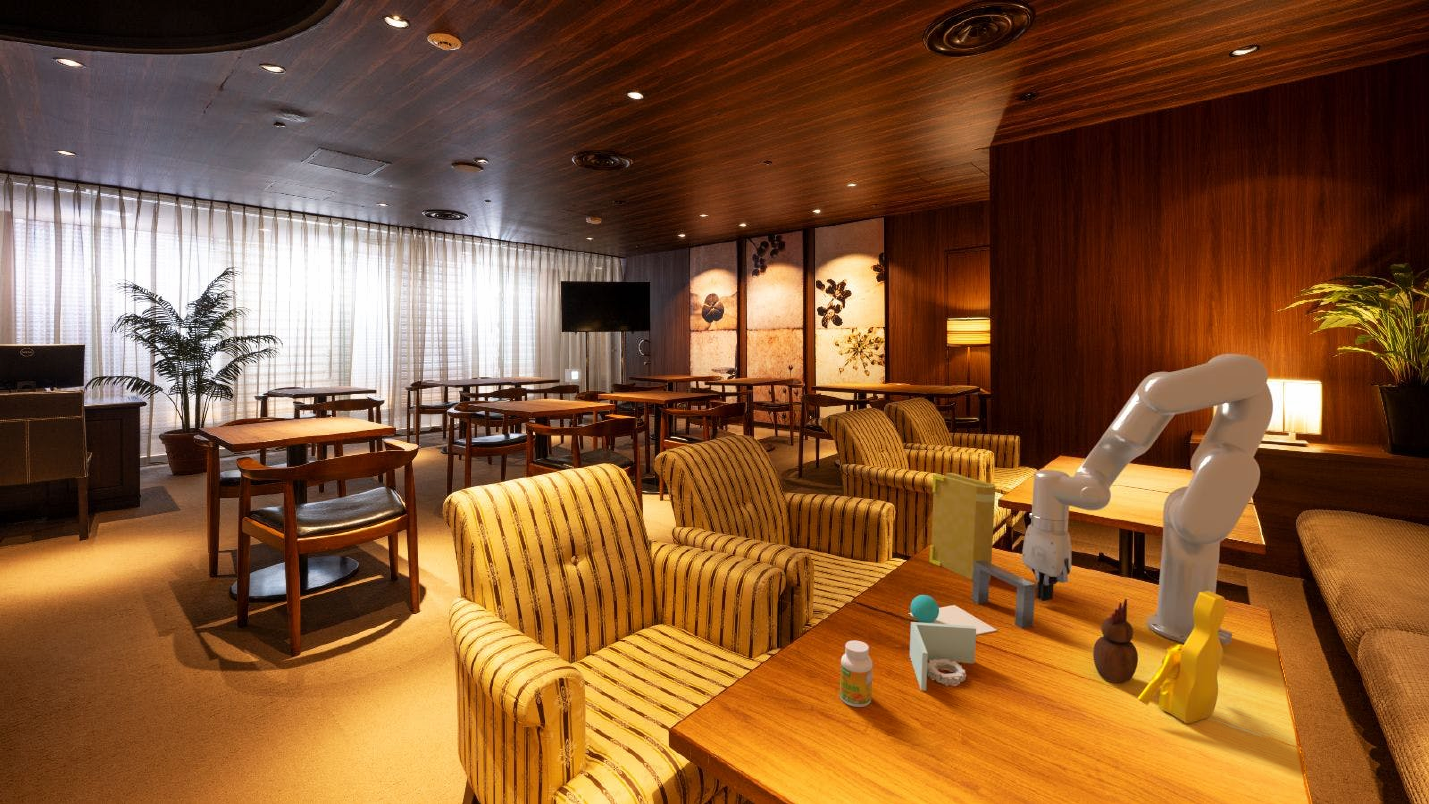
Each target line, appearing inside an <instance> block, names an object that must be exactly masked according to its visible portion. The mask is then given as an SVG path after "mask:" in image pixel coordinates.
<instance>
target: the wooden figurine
mask: <svg viewBox="0 0 1429 804" xmlns="http://www.w3.org/2000/svg"><path fill="white" fill-rule="evenodd" d="M1127 601H1128V599H1127V598H1125V599H1124V602H1123V605H1122V602H1119V603H1118V607H1117V608H1115V609H1114V613H1111V616H1110V617H1106V618H1105V619H1104V620H1103V622H1102V624H1101V633H1102V635H1103V636H1100V637H1099V638H1098V639H1096V641H1095V643H1094V646H1093V653H1092V654H1093V655H1092V656H1093V662H1094V666H1095V669H1096V671H1097V673H1098V675H1099V676H1100V677H1101V678H1102V679H1104V680H1106V681H1108V682H1113V683H1120V684H1121V683H1126V682H1129V681H1130V680H1131V679H1132V678H1133V676H1134V675H1135V673H1136V670H1137V669H1138V662H1139V654H1138V651H1137V648H1136V646H1135V645H1134V643H1133V642H1132V640H1133V637H1134V629H1133V626H1132V625H1131V623H1130V622H1128V620H1127V618H1128V617H1127V615H1128V613H1127V612H1128V610H1127V609H1128V602H1127Z"/></svg>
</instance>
